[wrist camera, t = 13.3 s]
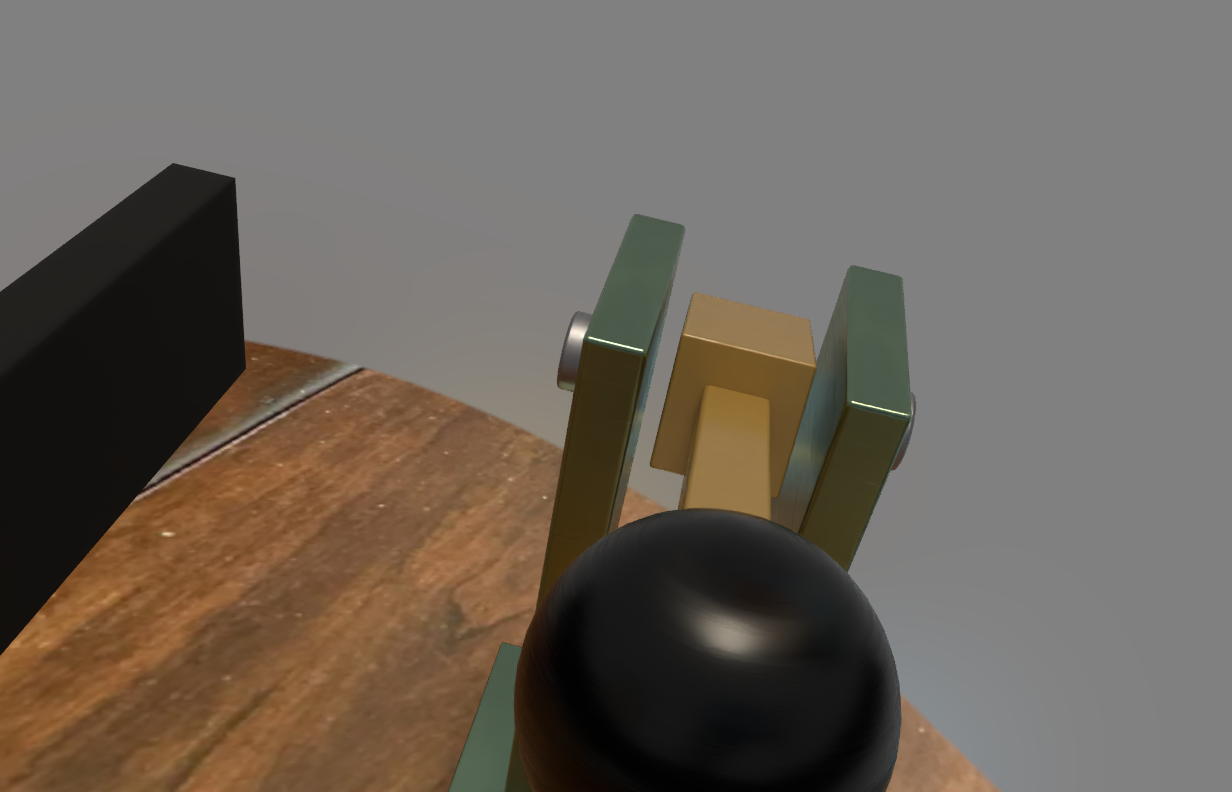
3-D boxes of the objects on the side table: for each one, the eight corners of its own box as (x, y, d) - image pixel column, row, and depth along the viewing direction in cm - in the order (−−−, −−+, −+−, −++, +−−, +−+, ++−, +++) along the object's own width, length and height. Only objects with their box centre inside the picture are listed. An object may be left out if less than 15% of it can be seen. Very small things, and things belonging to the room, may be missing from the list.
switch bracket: (749, 1042, 23) (1032, 525, 14) (399, 944, 24) (447, 379, 14) (772, 741, 30) (978, 249, 20) (497, 668, 30) (575, 154, 21)
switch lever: (852, 1055, 9) (992, 708, 8) (438, 940, 9) (510, 583, 8) (804, 475, 20) (858, 296, 19) (622, 429, 21) (663, 250, 19)
